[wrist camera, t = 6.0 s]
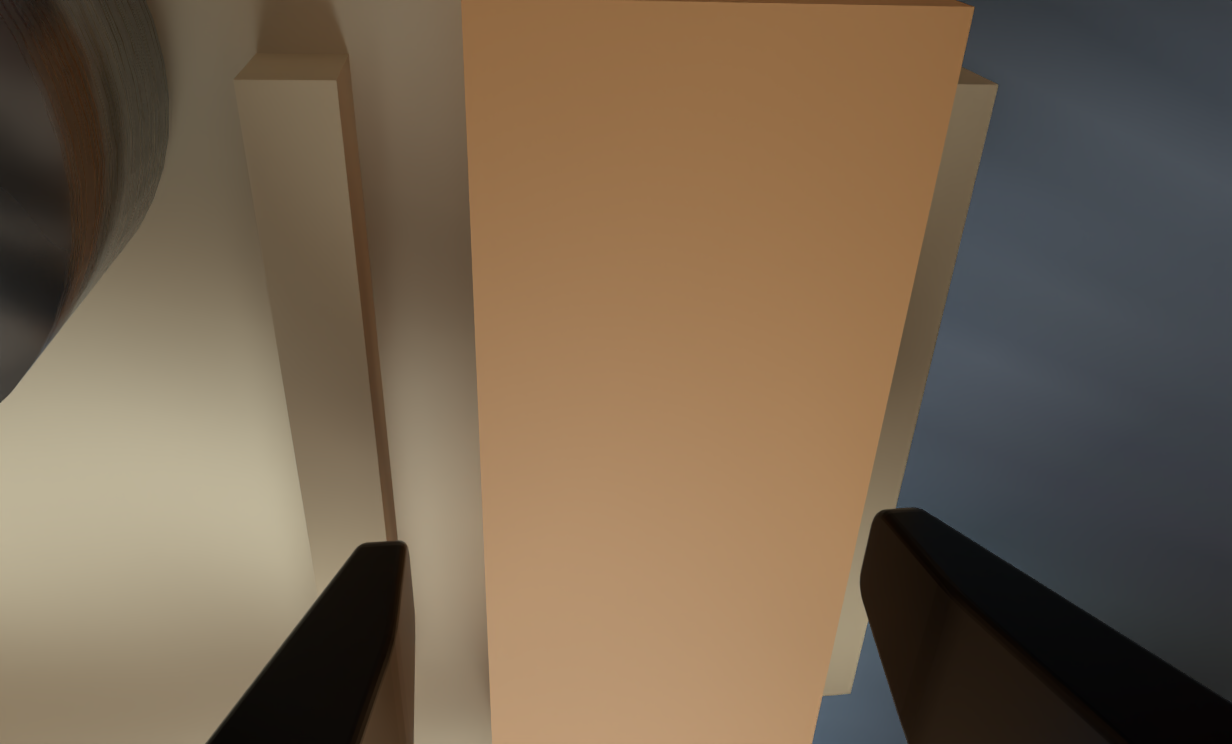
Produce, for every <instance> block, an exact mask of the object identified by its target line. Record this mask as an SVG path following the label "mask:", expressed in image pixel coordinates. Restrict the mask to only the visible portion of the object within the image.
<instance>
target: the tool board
mask: <svg viewBox="0 0 1232 744" xmlns="http://www.w3.org/2000/svg"><path fill="white" fill-rule="evenodd" d="M146 2H147V5H148V7H149V10H150V12H151V15H152V17H153V20H154V24H155V27H156V31H157V35H158V39H159V43H160V46H161V50H162V54H163V58H164V63H165V70H166V78H167V86H168V93H169V137H168V144H167V150H166V156H165V163H164V169H163V172H162V175H161V178H160V181H159V184H158V188H157V191H156V194H155V197H154V200H153V202H152V204H151V206H150V208H149V210H148V212H147V214H146V215H145V217H144V219H143V221H142V223H141V225H140V227H139V229H138V230H137V232H136V233H135V234H134V236H133V237H132V238H131V240H130V241H129V242H128V244H127V245H126V246H125V248H124V249H123V250H122V252H121V253H120V254H119V256H118V257H117V258H116V259H115V261H114V262H113V263H112V264H111V266H110V267H109V268H108V270H107V271H106V272H105V273H104V275H103V276H102V277H101V279H100V280H99V281H98V282H97V284H96V285H95V286H94V287H93V289H92V290H91V291H90V293H89V294H88V295H87V296H86V298H85V299H84V300H83V302H82V303H81V304H80V305H79V307H78V308H77V309H76V310H75V312H74V313H73V314H72V316H71V317H70V318H69V319H68V321H67V322H66V323H65V324H64V326H63V327H62V328H61V330H60V331H59V332H58V333H57V335H56V336H55V337H54V339H53V340H52V341H51V342H50V344H49V345H48V346H47V347H46V349H45V350H44V351H43V353H42V354H41V355H40V356H39V358H38V359H37V360H36V362H35V363H34V364H33V365H32V367H31V368H30V369H29V370H28V372H27V373H26V374H25V376H24V377H23V378H22V379H21V381H20V382H19V383H18V385H17V386H16V387H15V388H14V390H13V391H12V392H11V393H10V394H9V395H8V396H7V397H6V398H5V399H4V400H3V401H2V402H1V403H0V744H205V743H206V742H207V741H208V739H209V738H210V737H211V735H212V734H213V733H214V732H215V730H216V729H217V728H218V726H219V725H220V724H221V722H222V721H223V720H224V719H225V717H226V716H227V715H228V713H229V712H230V711H231V710H232V708H233V707H234V706H235V704H236V703H237V702H238V700H239V699H240V698H241V697H242V695H243V694H244V693H245V691H246V690H247V689H248V687H249V686H250V685H251V684H252V682H253V681H254V680H255V678H256V677H257V676H258V675H259V673H260V672H261V671H262V669H263V668H264V667H265V665H266V664H267V663H268V662H269V660H270V659H271V658H272V656H273V655H274V654H275V652H276V651H277V650H278V649H279V647H280V646H281V645H282V643H283V642H284V641H285V640H286V638H287V637H288V636H289V634H290V633H291V632H292V630H293V629H294V628H295V627H296V625H297V624H298V623H299V621H300V620H301V619H302V618H303V616H304V615H305V614H306V612H307V611H308V610H309V608H310V607H311V606H312V605H313V603H314V602H315V601H316V599H317V598H318V597H319V595H320V594H321V593H322V592H323V590H324V589H325V588H326V586H327V585H328V584H329V583H330V581H331V580H332V579H333V577H334V576H335V575H336V573H337V572H338V571H339V570H340V568H341V567H342V566H343V564H344V563H345V562H346V560H347V559H348V558H349V557H350V555H351V554H352V553H353V551H354V550H355V549H356V548H357V547H358V546H359V545H361V544H362V543H366V542H380V541H395V540H401V541H403V542H405V543H406V544H407V546H408V550H409V556H410V566H411V577H412V587H413V598H414V608H415V693H414V744H492V731H491V707H490V683H489V659H488V635H487V611H486V587H485V563H484V539H483V516H482V492H481V468H480V444H479V420H478V396H477V372H476V348H475V324H474V300H473V276H472V252H471V228H470V204H469V180H468V156H467V132H466V109H465V85H464V61H463V37H462V13H461V0H146ZM997 89H998V84H996V83H994V82H992V81H990V80H988V79H986V78H984V77H982V76H980V75H977V74H975V73H973V72H971V71H969V70H967V69H965V68H963V67H961V71H960V76H959V80H958V85H957V89H956V94H955V98H954V103H953V107H952V112H951V116H950V121H949V125H948V130H947V134H946V139H945V143H944V148H943V153H942V157H941V162H940V166H939V171H938V175H937V180H936V184H935V189H934V193H933V198H932V202H931V207H930V211H929V216H928V220H927V225H926V229H925V234H924V239H923V243H922V248H921V252H920V257H919V261H918V266H917V270H916V275H915V279H914V284H913V288H912V293H911V297H910V302H909V306H908V311H907V315H906V320H905V324H904V329H903V334H902V338H901V343H900V347H899V352H898V356H897V361H896V365H895V370H894V374H893V379H892V383H891V388H890V392H889V397H888V401H887V406H886V410H885V415H884V420H883V424H882V429H881V433H880V438H879V442H878V447H877V451H876V456H875V460H874V465H873V469H872V474H871V478H870V483H869V487H868V492H867V496H866V501H865V505H864V510H863V515H862V519H861V524H860V528H859V533H858V537H857V542H856V546H855V551H854V555H853V560H852V564H851V569H850V573H849V578H848V582H847V587H846V591H845V596H844V601H843V605H842V610H841V614H840V619H839V623H838V628H837V632H836V637H835V641H834V646H833V650H832V655H831V659H830V664H829V668H828V673H827V677H826V682H825V687H824V691H823V696H830V695H840V694H850V693H851V689H852V685H853V681H854V677H855V673H856V669H857V664H858V660H859V656H860V652H861V648H862V644H863V640H864V636H865V632H866V627H867V623H868V617H867V614H866V611H865V608H864V605H863V601H862V598H861V592H860V572H861V567H862V563H863V558H864V554H865V550H866V545H867V541H868V536H869V532H870V528H871V523H872V521H873V518H874V516H875V515H876V514H877V513H878V512H879V511H881V510H884V509H895V508H896V504H897V500H898V496H899V492H900V488H901V484H902V479H903V475H904V471H905V467H906V463H907V459H908V455H909V451H910V447H911V442H912V438H913V434H914V430H915V426H916V422H917V418H918V414H919V410H920V405H921V401H922V397H923V393H924V389H925V385H926V381H927V377H928V373H929V368H930V364H931V360H932V356H933V352H934V348H935V344H936V340H937V336H938V331H939V327H940V323H941V319H942V315H943V311H944V307H945V303H946V299H947V294H948V290H949V286H950V282H951V278H952V274H953V270H954V266H955V262H956V257H957V253H958V249H959V245H960V241H961V237H962V233H963V229H964V225H965V220H966V216H967V212H968V208H969V204H970V200H971V196H972V192H973V188H974V183H975V179H976V175H977V171H978V167H979V163H980V159H981V155H982V151H983V146H984V142H985V138H986V134H987V130H988V126H989V122H990V118H991V114H992V109H993V105H994V101H995V97H996V93H997Z"/></svg>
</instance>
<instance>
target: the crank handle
mask: <svg viewBox="0 0 1232 744" xmlns="http://www.w3.org/2000/svg"><path fill="white" fill-rule="evenodd" d="M168 137H169V93H168V86H167V78H166V70H165V63H164V58H163V54H162V50H161V46H160V43H159V39H158V35H157V31H156V27H155V24H154V20H153V17H152V15H151V12H150V10H149V7H148V5H147V2H146V0H0V403H1V402H2V401H3V400H4V399H5V398H6V397H7V396H8V395H9V394H10V393H11V392H12V391H13V390H14V388H15V387H16V386H17V385H18V383H19V382H20V381H21V379H22V378H23V377H24V376H25V374H26V373H27V372H28V370H29V369H30V368H31V367H32V365H33V364H34V363H35V362H36V360H37V359H38V358H39V356H40V355H41V354H42V353H43V351H44V350H45V349H46V347H47V346H48V345H49V344H50V342H51V341H52V340H53V339H54V337H55V336H56V335H57V333H58V332H59V331H60V330H61V328H62V327H63V326H64V324H65V323H66V322H67V321H68V319H69V318H70V317H71V316H72V314H73V313H74V312H75V310H76V309H77V308H78V307H79V305H80V304H81V303H82V302H83V300H84V299H85V298H86V296H87V295H88V294H89V293H90V291H91V290H92V289H93V287H94V286H95V285H96V284H97V282H98V281H99V280H100V279H101V277H102V276H103V275H104V273H105V272H106V271H107V270H108V268H109V267H110V266H111V264H112V263H113V262H114V261H115V259H116V258H117V257H118V256H119V254H120V253H121V252H122V250H123V249H124V248H125V246H126V245H127V244H128V242H129V241H130V240H131V238H132V237H133V236H134V234H135V233H136V232H137V230H138V229H139V227H140V225H141V223H142V221H143V219H144V217H145V215H146V214H147V212H148V210H149V208H150V206H151V204H152V202H153V200H154V197H155V194H156V191H157V188H158V184H159V181H160V178H161V175H162V172H163V169H164V163H165V156H166V150H167V144H168Z"/></svg>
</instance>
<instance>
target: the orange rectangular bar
mask: <svg viewBox="0 0 1232 744" xmlns="http://www.w3.org/2000/svg"><path fill="white" fill-rule="evenodd" d="M974 8H975V7H973V6H970V5H968V4H965V3H962V2H959V1H956V0H461V13H462V37H463V61H464V85H465V109H466V132H467V156H468V180H469V204H470V228H471V252H472V276H473V300H474V324H475V348H476V372H477V396H478V420H479V444H480V468H481V492H482V516H483V539H484V563H485V587H486V611H487V635H488V659H489V683H490V707H491V731H492V744H812V741H813V736H814V732H815V727H816V723H817V718H818V714H819V709H820V705H821V700H822V696H823V691H824V687H825V682H826V677H827V673H828V668H829V664H830V659H831V655H832V650H833V646H834V641H835V637H836V632H837V628H838V623H839V619H840V614H841V610H842V605H843V601H844V596H845V591H846V587H847V582H848V578H849V573H850V569H851V564H852V560H853V555H854V551H855V546H856V542H857V537H858V533H859V528H860V524H861V519H862V515H863V510H864V505H865V501H866V496H867V492H868V487H869V483H870V478H871V474H872V469H873V465H874V460H875V456H876V451H877V447H878V442H879V438H880V433H881V429H882V424H883V420H884V415H885V410H886V406H887V401H888V397H889V392H890V388H891V383H892V379H893V374H894V370H895V365H896V361H897V356H898V352H899V347H900V343H901V338H902V334H903V329H904V324H905V320H906V315H907V311H908V306H909V302H910V297H911V293H912V288H913V284H914V279H915V275H916V270H917V266H918V261H919V257H920V252H921V248H922V243H923V239H924V234H925V229H926V225H927V220H928V216H929V211H930V207H931V202H932V198H933V193H934V189H935V184H936V180H937V175H938V171H939V166H940V162H941V157H942V153H943V148H944V143H945V139H946V134H947V130H948V125H949V121H950V116H951V112H952V107H953V103H954V98H955V94H956V89H957V85H958V80H959V76H960V71H961V67H962V62H963V57H964V53H965V48H966V44H967V39H968V35H969V30H970V26H971V21H972V17H973V12H974Z"/></svg>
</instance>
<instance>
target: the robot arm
mask: <svg viewBox="0 0 1232 744" xmlns="http://www.w3.org/2000/svg"><path fill="white" fill-rule="evenodd" d="M860 592H861V598H862V601H863V605H864V608H865V611H866V614H867V617H868V621H869V624H870V627H871V630H872V633H873V637H874V640H875V643H876V646H877V649H878V653H879V656H880V659H881V662H882V665H883V668H884V672H885V675H886V678H887V681H888V684H889V688H890V691H891V694H892V697H893V700H894V704H895V707H896V710H897V713H898V716H899V719H900V722H901V725H902V728H903V731H904V734H905V737H906V740H907V743H908V744H1232V703H1231V702H1229V701H1228V700H1226V699H1225V698H1223V697H1221V696H1220V695H1218V694H1217V693H1215V692H1213V691H1212V690H1210V689H1209V688H1207V687H1205V686H1204V685H1202V684H1201V683H1199V682H1197V681H1196V680H1194V679H1193V678H1191V677H1189V676H1188V675H1186V674H1185V673H1183V672H1181V671H1180V670H1178V669H1177V668H1175V667H1173V666H1172V665H1170V664H1169V663H1167V662H1166V661H1164V660H1162V659H1161V658H1159V657H1158V656H1156V655H1154V654H1153V653H1151V652H1150V651H1148V650H1146V649H1145V648H1143V647H1142V646H1140V645H1138V644H1137V643H1135V642H1134V641H1132V640H1130V639H1129V638H1127V637H1126V636H1124V635H1122V634H1121V633H1119V632H1118V631H1116V630H1114V629H1113V628H1111V627H1110V626H1108V625H1106V624H1105V623H1103V622H1102V621H1100V620H1098V619H1097V618H1095V617H1094V616H1092V615H1090V614H1089V613H1087V612H1086V611H1084V610H1083V609H1081V608H1079V607H1078V606H1076V605H1075V604H1073V603H1071V602H1070V601H1068V600H1067V599H1065V598H1063V597H1062V596H1060V595H1059V594H1057V593H1055V592H1054V591H1052V590H1051V589H1049V588H1047V587H1046V586H1044V585H1043V584H1041V583H1039V582H1038V581H1036V580H1035V579H1033V578H1031V577H1030V576H1028V575H1027V574H1025V573H1023V572H1022V571H1020V570H1019V569H1017V568H1015V567H1014V566H1012V565H1011V564H1009V563H1007V562H1006V561H1004V560H1003V559H1001V558H999V557H998V556H996V555H995V554H993V553H992V552H990V551H988V550H987V549H985V548H984V547H982V546H980V545H979V544H977V543H976V542H974V541H972V540H971V539H969V538H968V537H966V536H964V535H963V534H961V533H960V532H958V531H956V530H955V529H953V528H952V527H950V526H948V525H947V524H945V523H944V522H942V521H940V520H939V519H937V518H936V517H934V516H932V515H931V514H929V513H928V512H926V511H924V510H922V509H919V508H898V509H884V510H881V511H879V512H878V513H877V514H876V515H875V516H874V518H873V521H872V523H871V528H870V532H869V536H868V541H867V545H866V550H865V554H864V558H863V563H862V567H861V572H860ZM414 693H415V608H414V598H413V587H412V577H411V566H410V556H409V550H408V546H407V544H406V543H405V542H403V541H401V540H395V541H380V542H366V543H362V544H361V545H359V546H358V547H357V548H356V549H355V550H354V551H353V553H352V554H351V555H350V557H349V558H348V559H347V560H346V562H345V563H344V564H343V566H342V567H341V568H340V570H339V571H338V572H337V573H336V575H335V576H334V577H333V579H332V580H331V581H330V583H329V584H328V585H327V586H326V588H325V589H324V590H323V592H322V593H321V594H320V595H319V597H318V598H317V599H316V601H315V602H314V603H313V605H312V606H311V607H310V608H309V610H308V611H307V612H306V614H305V615H304V616H303V618H302V619H301V620H300V621H299V623H298V624H297V625H296V627H295V628H294V629H293V630H292V632H291V633H290V634H289V636H288V637H287V638H286V640H285V641H284V642H283V643H282V645H281V646H280V647H279V649H278V650H277V651H276V652H275V654H274V655H273V656H272V658H271V659H270V660H269V662H268V663H267V664H266V665H265V667H264V668H263V669H262V671H261V672H260V673H259V675H258V676H257V677H256V678H255V680H254V681H253V682H252V684H251V685H250V686H249V687H248V689H247V690H246V691H245V693H244V694H243V695H242V697H241V698H240V699H239V700H238V702H237V703H236V704H235V706H234V707H233V708H232V710H231V711H230V712H229V713H228V715H227V716H226V717H225V719H224V720H223V721H222V722H221V724H220V725H219V726H218V728H217V729H216V730H215V732H214V733H213V734H212V735H211V737H210V738H209V739H208V741H207V742H206V743H205V744H414Z"/></svg>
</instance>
